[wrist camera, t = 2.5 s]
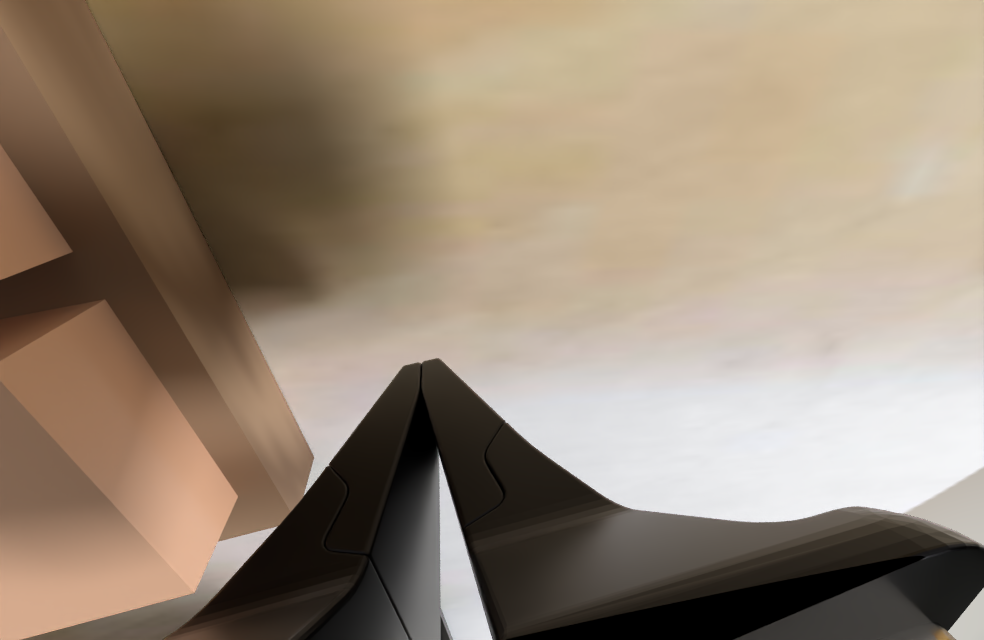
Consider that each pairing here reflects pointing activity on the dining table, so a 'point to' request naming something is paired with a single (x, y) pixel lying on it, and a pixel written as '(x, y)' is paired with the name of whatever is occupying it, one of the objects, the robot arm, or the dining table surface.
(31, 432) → the tile
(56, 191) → the board
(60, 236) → the tile
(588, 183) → the dining table surface
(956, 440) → the dining table surface
